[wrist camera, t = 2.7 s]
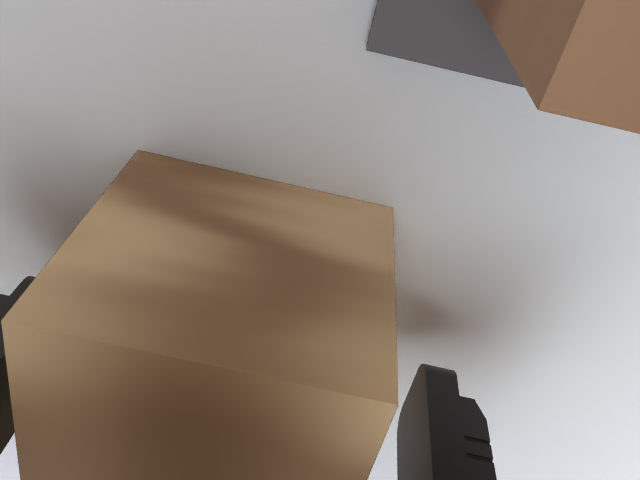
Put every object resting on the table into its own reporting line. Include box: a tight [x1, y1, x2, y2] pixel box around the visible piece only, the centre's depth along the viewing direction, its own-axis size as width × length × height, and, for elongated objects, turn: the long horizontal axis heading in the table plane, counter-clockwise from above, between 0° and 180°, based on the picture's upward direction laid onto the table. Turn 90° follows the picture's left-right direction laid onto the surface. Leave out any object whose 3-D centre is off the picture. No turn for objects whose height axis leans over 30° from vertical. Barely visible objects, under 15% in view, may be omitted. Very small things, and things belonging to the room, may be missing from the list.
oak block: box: [1, 150, 398, 480], centre depth 13 cm, size 6×6×6 cm
